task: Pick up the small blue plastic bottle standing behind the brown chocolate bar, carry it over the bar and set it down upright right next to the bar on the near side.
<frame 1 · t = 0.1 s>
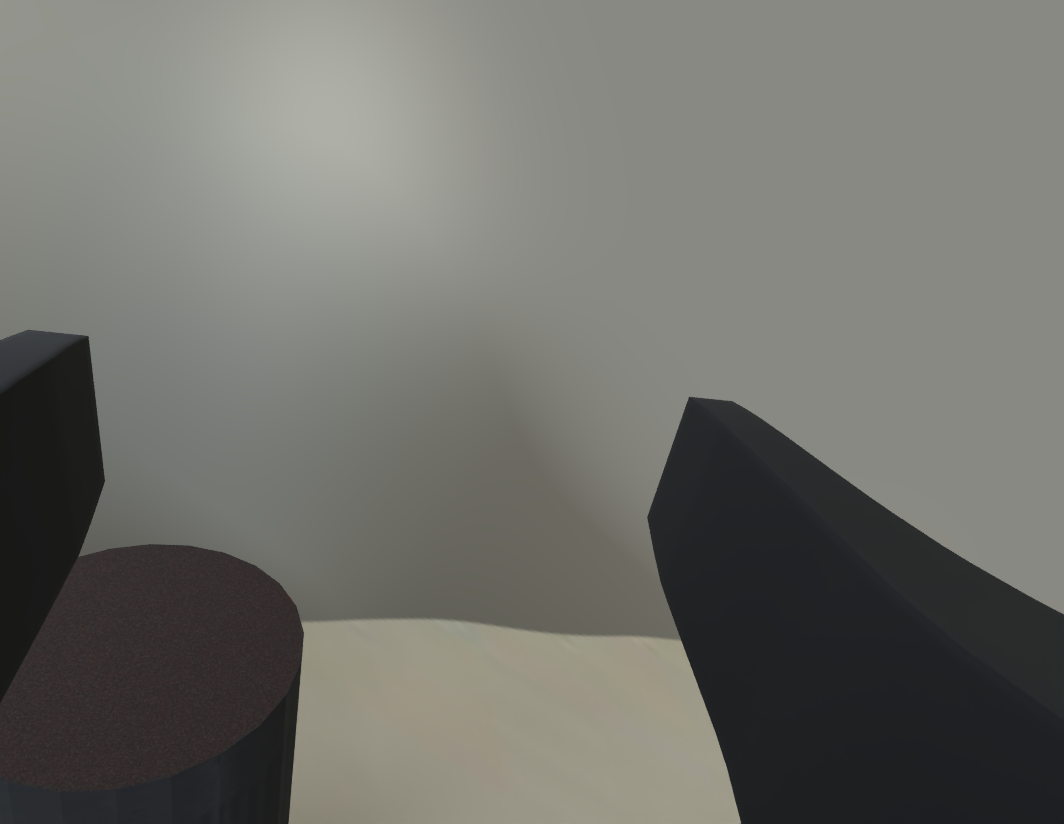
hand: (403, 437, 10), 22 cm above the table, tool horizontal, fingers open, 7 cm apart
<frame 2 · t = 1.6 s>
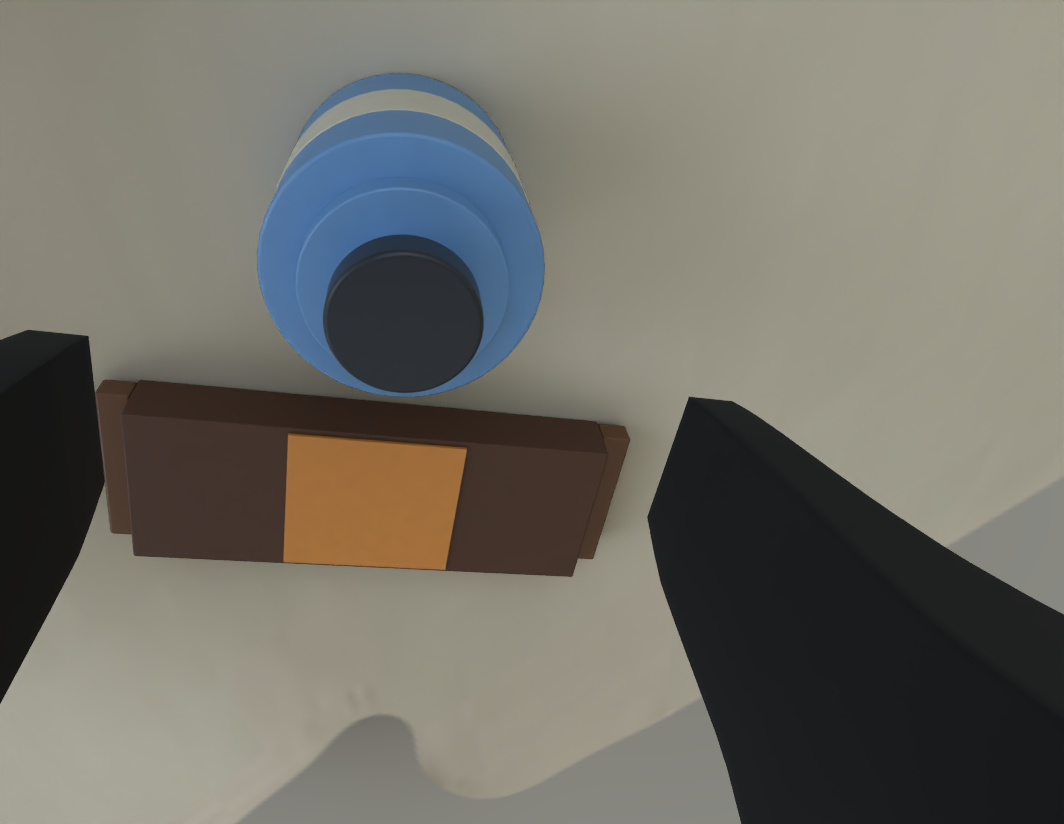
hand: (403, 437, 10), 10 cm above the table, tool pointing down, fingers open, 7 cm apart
snack bar: (374, 468, 22), on the table
bottle: (405, 189, 18), on the table
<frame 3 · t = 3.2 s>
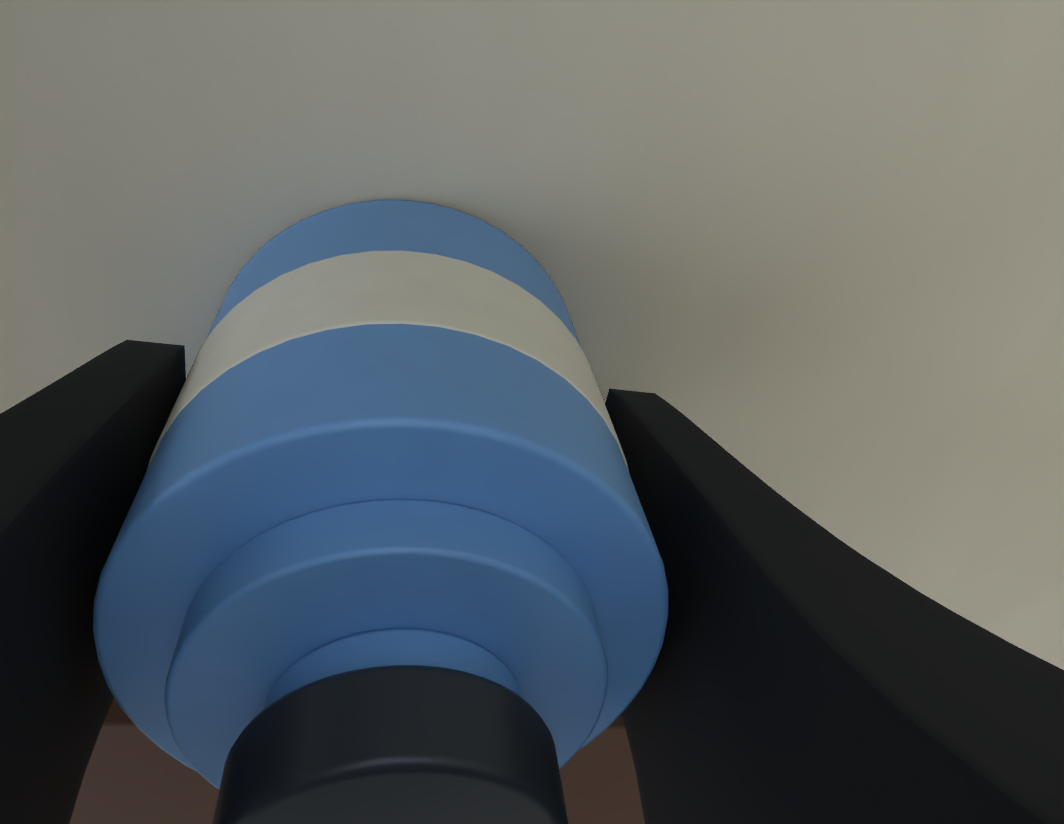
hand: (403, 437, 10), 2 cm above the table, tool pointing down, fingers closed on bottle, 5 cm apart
snack bar: (359, 727, 15), on the table
bottle: (401, 371, 11), on the table, touching gripper
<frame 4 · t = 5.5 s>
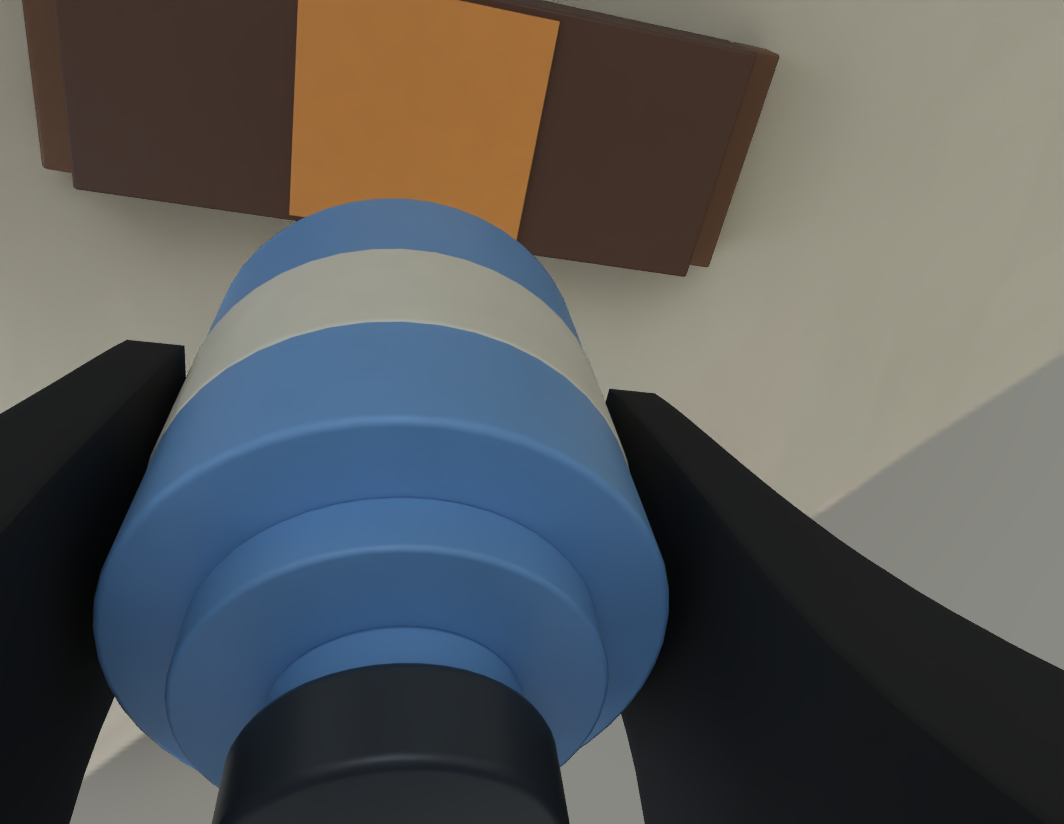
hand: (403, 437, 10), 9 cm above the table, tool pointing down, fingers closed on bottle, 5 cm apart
snack bar: (417, 102, 16), on the table
bottle: (401, 370, 11), point 7 cm above the table, touching gripper
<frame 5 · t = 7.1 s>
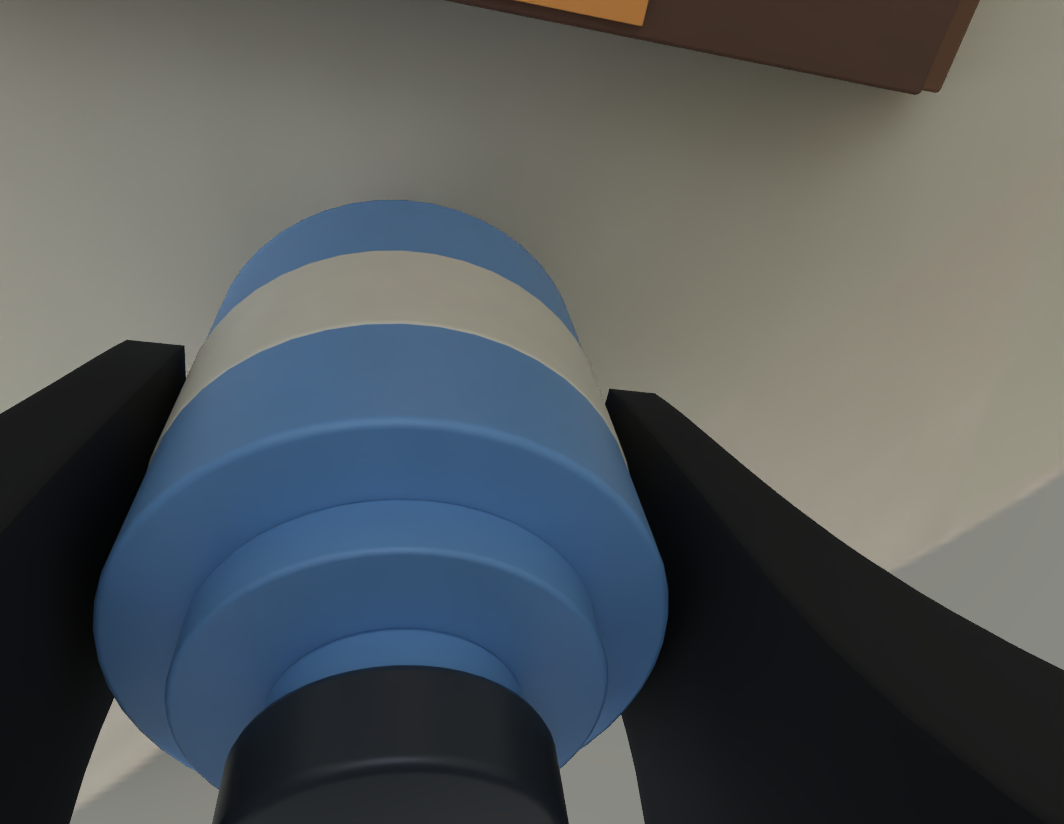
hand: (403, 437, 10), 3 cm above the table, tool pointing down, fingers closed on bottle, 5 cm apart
bottle: (401, 371, 11), point 2 cm above the table, touching gripper
when the fingers open (2 cm above the table, at t = 8.2 s): bottle stays where it is, on the table.
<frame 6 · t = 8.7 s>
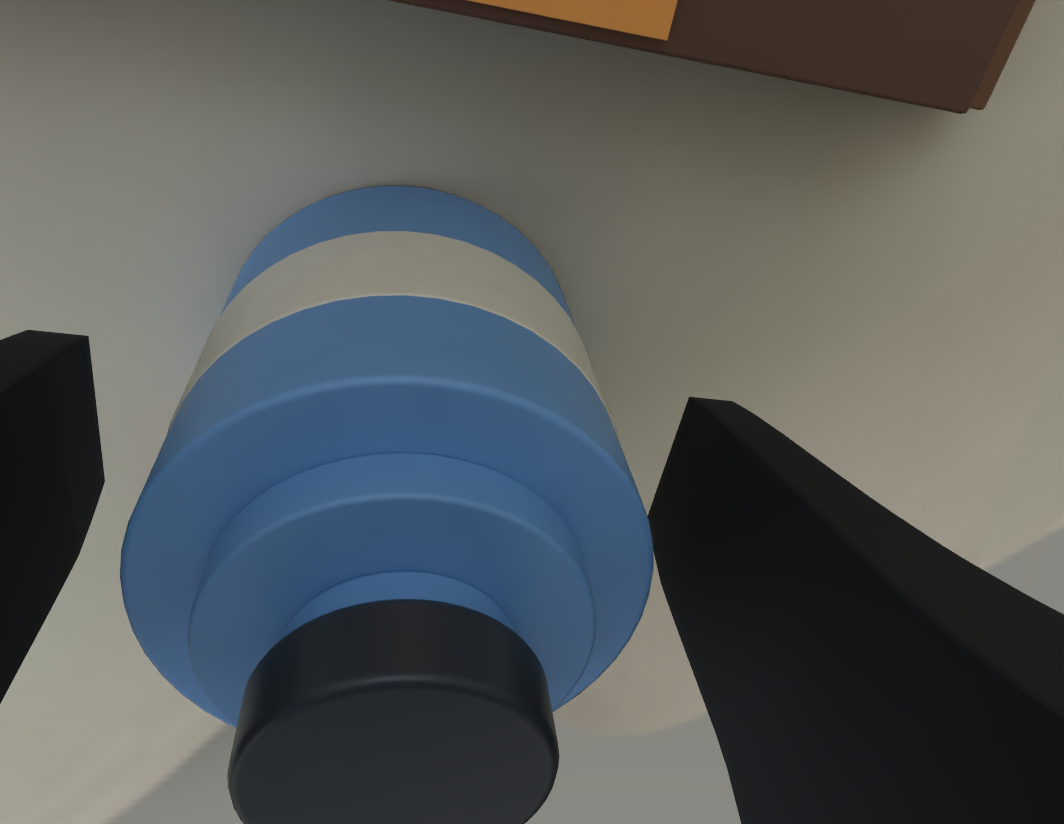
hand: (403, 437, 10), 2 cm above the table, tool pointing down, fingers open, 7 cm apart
bottle: (403, 351, 12), on the table
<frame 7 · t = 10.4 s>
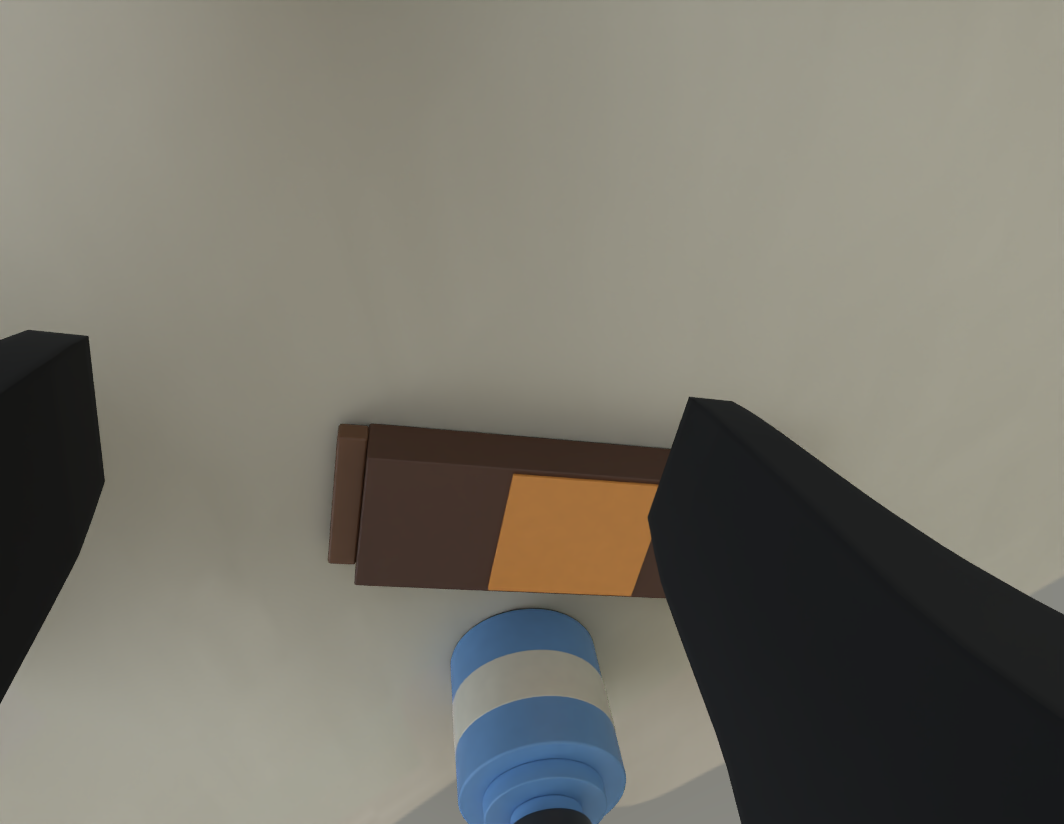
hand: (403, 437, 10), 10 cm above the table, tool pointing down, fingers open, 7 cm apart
snack bar: (566, 501, 24), on the table
bottle: (522, 658, 27), on the table
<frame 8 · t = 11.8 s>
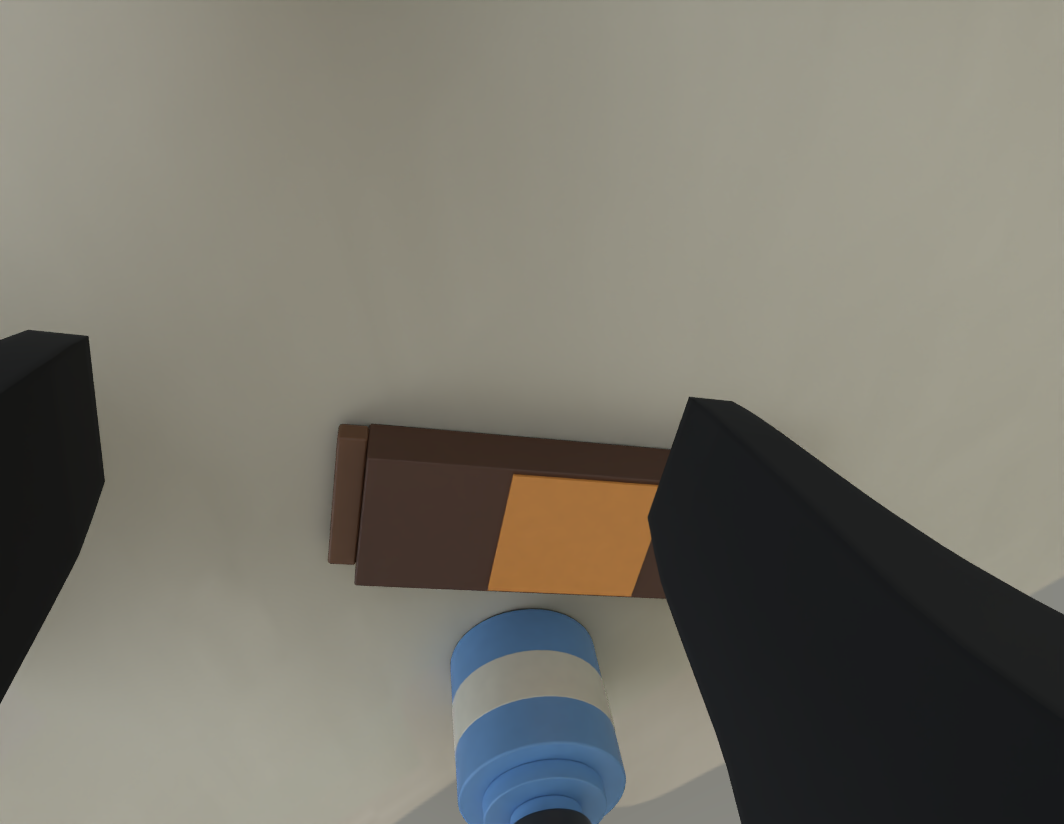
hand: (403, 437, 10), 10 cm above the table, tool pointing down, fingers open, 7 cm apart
snack bar: (566, 502, 24), on the table
bottle: (522, 658, 27), on the table
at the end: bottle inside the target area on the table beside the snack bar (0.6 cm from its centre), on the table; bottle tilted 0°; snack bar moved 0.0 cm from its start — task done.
